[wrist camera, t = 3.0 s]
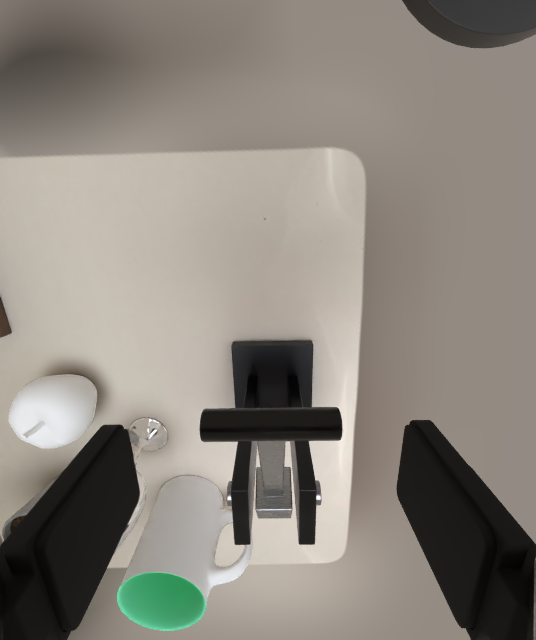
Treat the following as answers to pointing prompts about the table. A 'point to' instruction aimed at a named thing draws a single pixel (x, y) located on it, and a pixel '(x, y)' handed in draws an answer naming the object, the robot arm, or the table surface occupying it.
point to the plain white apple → (53, 410)
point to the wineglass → (145, 437)
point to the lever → (271, 444)
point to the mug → (178, 557)
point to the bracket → (273, 392)
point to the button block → (3, 322)
